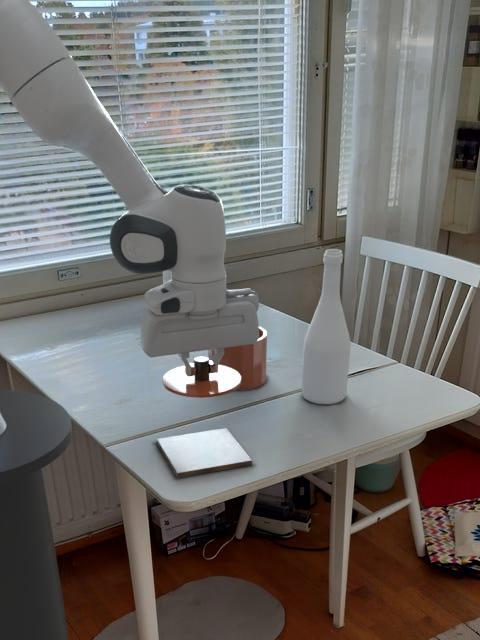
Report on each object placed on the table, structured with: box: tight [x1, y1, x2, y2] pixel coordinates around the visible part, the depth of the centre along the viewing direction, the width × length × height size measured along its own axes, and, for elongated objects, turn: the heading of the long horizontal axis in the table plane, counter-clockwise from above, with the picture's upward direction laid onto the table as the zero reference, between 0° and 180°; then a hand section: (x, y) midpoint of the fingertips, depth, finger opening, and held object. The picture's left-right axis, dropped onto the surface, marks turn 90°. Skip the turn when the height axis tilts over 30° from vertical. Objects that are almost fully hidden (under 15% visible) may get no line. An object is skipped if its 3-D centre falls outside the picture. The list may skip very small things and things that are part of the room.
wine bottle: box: [300, 248, 352, 405], centre depth 158 cm, size 10×10×30 cm
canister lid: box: [162, 356, 241, 399], centre depth 135 cm, size 14×14×5 cm
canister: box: [207, 326, 268, 391], centre depth 171 cm, size 13×13×10 cm
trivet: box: [155, 427, 253, 479], centre depth 144 cm, size 14×14×1 cm
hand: (201, 373), depth 136 cm, fingers closed on canister lid, 2 cm apart
